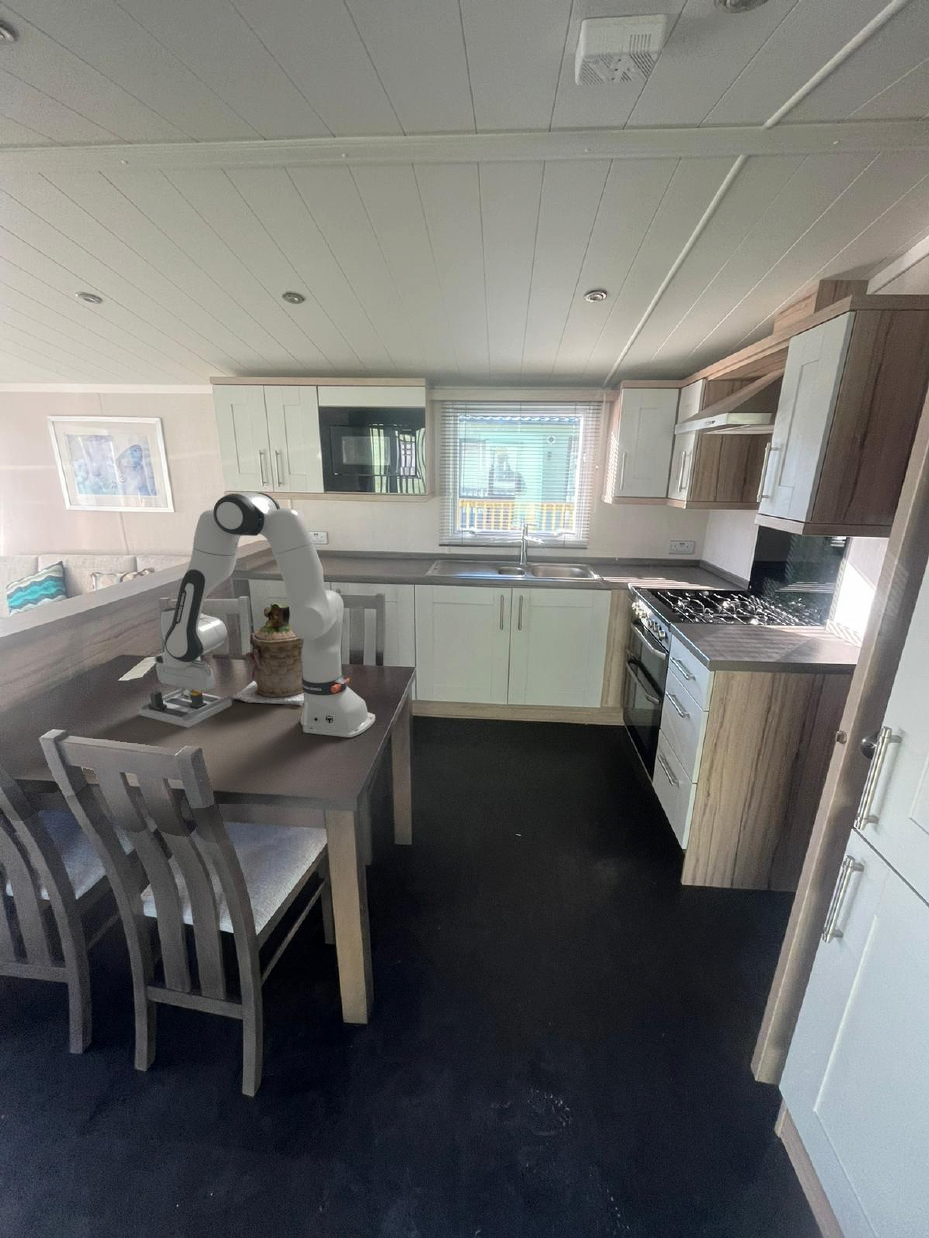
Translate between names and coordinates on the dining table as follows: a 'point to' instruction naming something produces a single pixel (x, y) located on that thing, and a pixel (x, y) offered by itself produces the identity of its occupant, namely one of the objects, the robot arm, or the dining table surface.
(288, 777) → the dining table surface
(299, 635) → the robot arm
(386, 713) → the dining table surface
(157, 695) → the breaker left
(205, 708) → the panel
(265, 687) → the cookie jar
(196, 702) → the breaker middle
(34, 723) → the dining table surface
